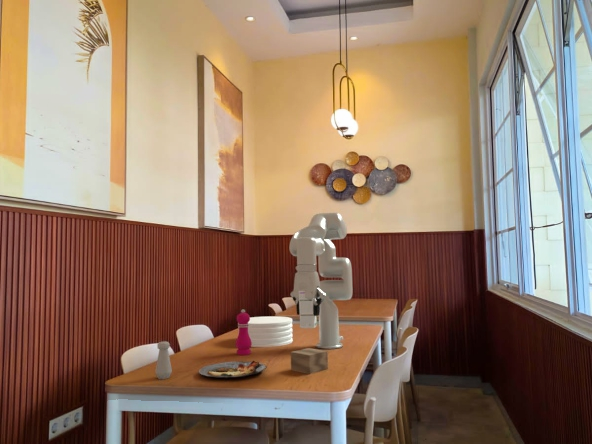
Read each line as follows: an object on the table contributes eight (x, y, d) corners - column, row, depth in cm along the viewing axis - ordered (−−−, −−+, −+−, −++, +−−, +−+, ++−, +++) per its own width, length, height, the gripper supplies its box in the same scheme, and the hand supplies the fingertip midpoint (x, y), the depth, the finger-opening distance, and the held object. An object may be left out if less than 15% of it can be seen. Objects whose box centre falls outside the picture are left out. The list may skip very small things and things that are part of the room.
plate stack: (292, 336, 254) (291, 315, 255) (293, 346, 226) (292, 322, 227) (241, 338, 253) (240, 317, 254) (235, 348, 225) (235, 324, 226)
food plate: (273, 366, 183) (273, 357, 183) (255, 382, 160) (255, 372, 161) (214, 366, 189) (214, 357, 189) (189, 382, 166) (188, 372, 166)
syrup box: (314, 328, 175) (313, 290, 176) (299, 328, 176) (298, 290, 178) (317, 326, 181) (316, 288, 182) (302, 326, 182) (301, 289, 183)
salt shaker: (157, 376, 173) (157, 340, 174) (172, 375, 173) (172, 340, 174) (153, 380, 167) (153, 343, 168) (170, 379, 167) (169, 343, 168)
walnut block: (309, 365, 184) (308, 347, 185) (327, 369, 177) (327, 351, 178) (291, 370, 178) (290, 351, 178) (309, 374, 170) (309, 355, 171)
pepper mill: (254, 352, 212) (253, 308, 214) (247, 355, 206) (246, 310, 207) (240, 351, 215) (239, 308, 216) (233, 355, 208) (232, 310, 209)
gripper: (283, 269, 183) (284, 314, 181) (319, 269, 172) (320, 317, 171) (295, 268, 189) (296, 312, 187) (330, 268, 178) (332, 315, 177)
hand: (308, 314), depth 179 cm, fingers closed on syrup box, 7 cm apart
